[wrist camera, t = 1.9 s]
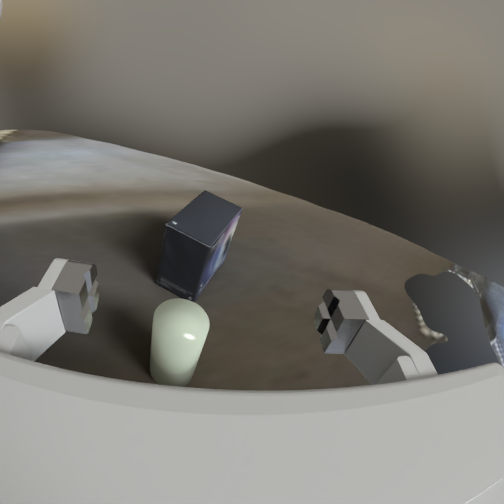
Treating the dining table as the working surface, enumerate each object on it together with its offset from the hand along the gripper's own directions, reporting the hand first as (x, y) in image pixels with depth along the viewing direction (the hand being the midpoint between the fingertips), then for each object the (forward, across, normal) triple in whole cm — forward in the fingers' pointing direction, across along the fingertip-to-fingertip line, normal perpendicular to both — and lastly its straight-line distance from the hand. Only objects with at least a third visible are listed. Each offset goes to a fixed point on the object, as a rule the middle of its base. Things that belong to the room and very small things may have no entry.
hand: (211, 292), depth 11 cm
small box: (+28, 0, +21) cm, 35 cm away
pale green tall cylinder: (+12, +2, +23) cm, 26 cm away
